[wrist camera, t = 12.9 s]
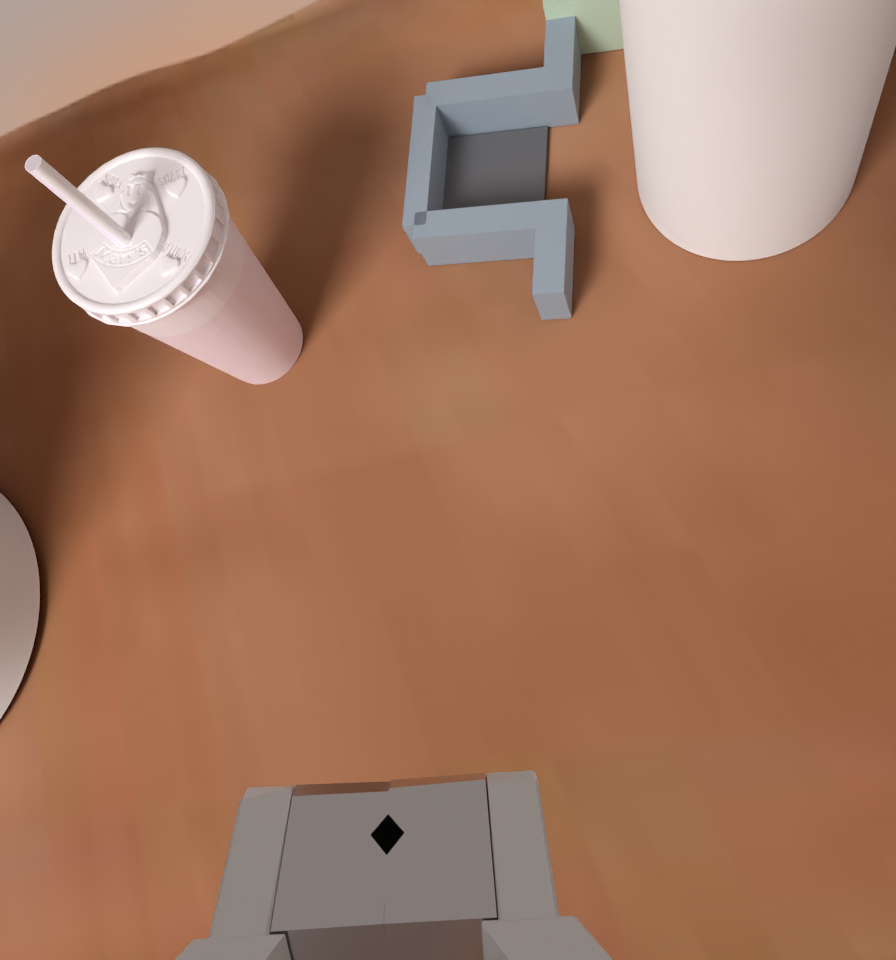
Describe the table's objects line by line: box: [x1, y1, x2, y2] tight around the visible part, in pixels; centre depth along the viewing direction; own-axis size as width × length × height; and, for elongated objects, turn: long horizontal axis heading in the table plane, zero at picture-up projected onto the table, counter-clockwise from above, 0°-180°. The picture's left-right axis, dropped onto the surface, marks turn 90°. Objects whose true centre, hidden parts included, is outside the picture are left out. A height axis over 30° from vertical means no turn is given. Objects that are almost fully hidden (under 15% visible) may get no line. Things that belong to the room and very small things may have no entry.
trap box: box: [402, 0, 624, 320], centre depth 32 cm, size 26×14×3 cm, turn 86°
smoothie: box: [25, 147, 303, 384], centre depth 31 cm, size 6×6×14 cm
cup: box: [619, 0, 896, 261], centre depth 26 cm, size 8×8×16 cm
